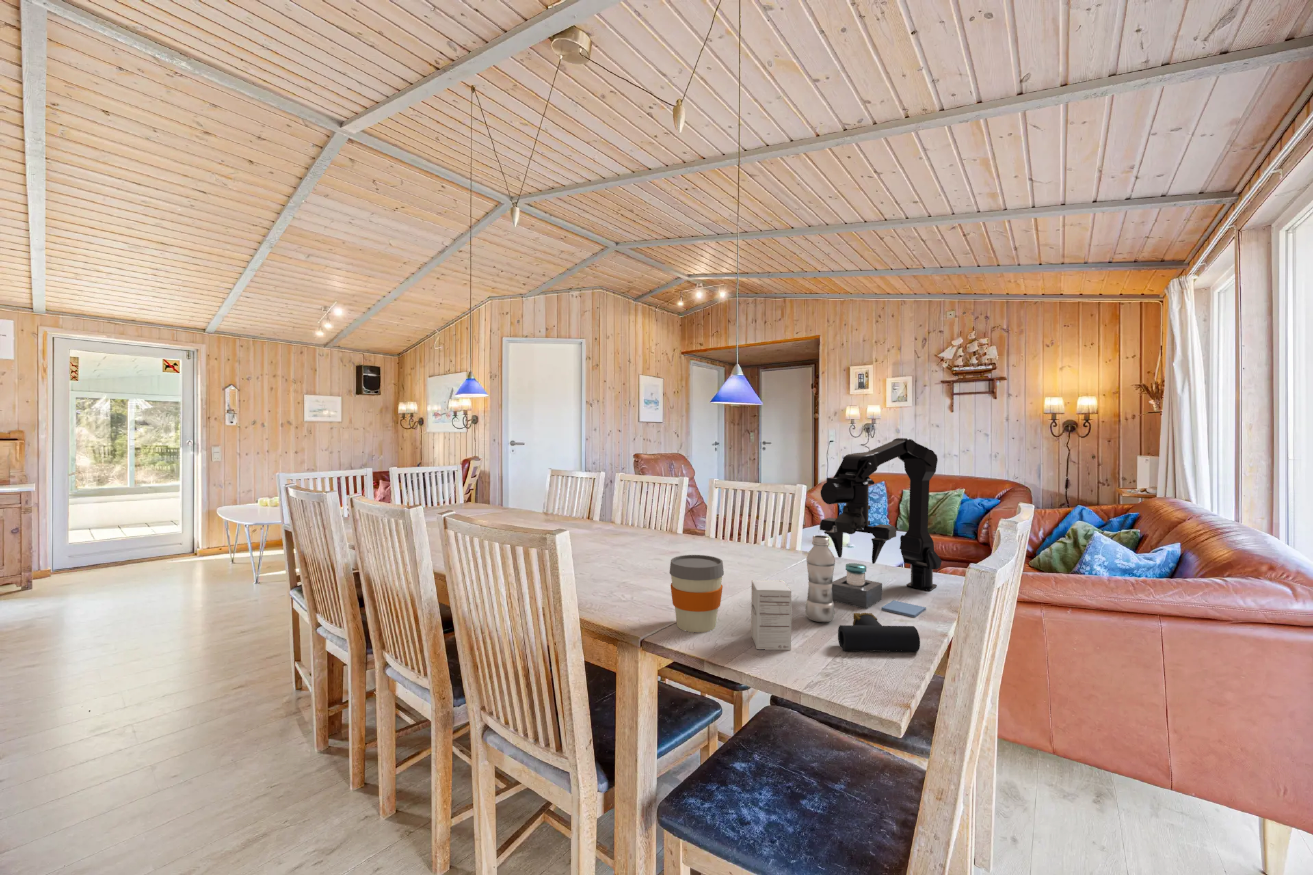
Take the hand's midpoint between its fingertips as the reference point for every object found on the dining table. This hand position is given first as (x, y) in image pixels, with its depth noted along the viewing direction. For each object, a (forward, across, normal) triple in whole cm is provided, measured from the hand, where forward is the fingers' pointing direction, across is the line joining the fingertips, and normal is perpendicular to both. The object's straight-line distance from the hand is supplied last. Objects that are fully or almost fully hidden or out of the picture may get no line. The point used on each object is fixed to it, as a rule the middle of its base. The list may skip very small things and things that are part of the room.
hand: (856, 560), depth 144 cm
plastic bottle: (+11, 0, -21) cm, 24 cm away
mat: (+11, +12, +1) cm, 16 cm away
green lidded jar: (+11, 0, 0) cm, 11 cm away
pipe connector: (+11, +15, -26) cm, 32 cm away
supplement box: (+11, -1, -41) cm, 42 cm away
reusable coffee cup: (+11, -19, -44) cm, 49 cm away
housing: (+11, 0, 0) cm, 11 cm away
